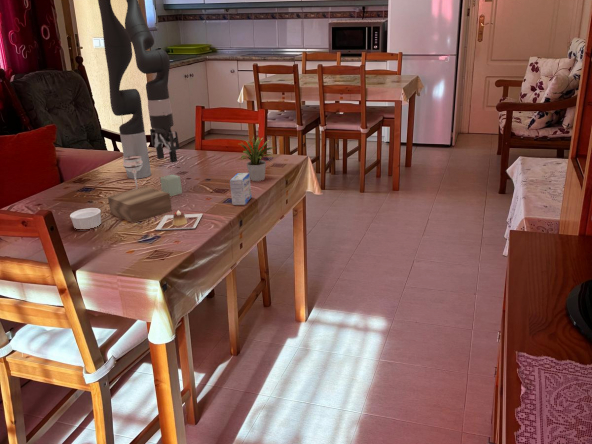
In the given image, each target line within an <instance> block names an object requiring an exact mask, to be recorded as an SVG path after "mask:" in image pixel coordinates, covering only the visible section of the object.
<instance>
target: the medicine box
mask: <svg viewBox="0 0 592 444" xmlns="http://www.w3.org/2000/svg"><path fill="white" fill-rule="evenodd" d="M229 186H230V195H231V204H232V205H233V206H246V205H247V204H248V203H249V201H250V199H252V198H253V197H252V187H251V179H250V175H249V172H238V173H236V174H235V175H234V176H233V177H231V179H230V180H229Z"/></svg>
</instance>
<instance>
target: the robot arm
mask: <svg viewBox="0 0 592 444" xmlns="http://www.w3.org/2000/svg"><path fill="white" fill-rule="evenodd" d="M125 1H126V4H127V7H126V8H127V9H126V14H125V18H124V25H123V24H122V22H121V21H120V19H118V17H117V16H116V14H115V12H114V9H113V8H112V7H113V6H112V1H111V0H97V2H98V3H97V4H98V8H99V13H100V17H101V18H100V19H101V27H102V35H103V46H104V55H105V60H106V65H107V67H106V68H107V73H108V74H107V75H108V84H109V86H108V87H109V100H110V107H111V110H112V114H114V116H117V117H121V116H129V115H132V117H131V118H130V119H129V120H128V121H125V122H124V123H122V124H121V125H120V126H119V127H118V131H119V136H120V142H121V147H122V155H123V158H124V157H128V156H135V155H138V156H142V158H141V160H142V161H143V166H142V168H141V169H140V170H139V171H137V173H136V179H144V178H147V177H150V176H151V175H152V171H151V163H150V158H149V157H150V155H149V149H148V143H147V137H146V130H145V124H144V117H143V115H144V114H143V107H142V98H141V94H140V92H139V90H138V89H136V88H129V89H121V90H120V88H121V83H122V79H123V77H124V74H125V72H126V71H127V69H128V67H129V65H130V63H131V61H132V59H133V50H134V56H135V64H136V67H137V69H138V70H139V71H140V72H141V74H144V75H149V74H156V75H155V78H154V79H151V80H149V81H147V82H146V84H145V90H146V99H147V108H148V116H149V121H150V122H149V123H150V127H151V128H150V129H149V131H150V142H151V145H152V147H154V148H155V149H156V156H157V157H156V158H157V159H158V160H162V159H164V158H165V154H164V148H163V145H164V146H165V147H166V148H167V150H168V151H169V152H168V156H169V160H170V161H169V162H171V163H177V161H178V157H177V150H179V149H180V143H179V137H178V131H172V127H174V124H175V123H174V117H173V116H174V115H173V110H172V103H171V99H170V94H169V88H168V87H169V75H170V68H171V60H170V56H169V54H168V53H167V52H166V51H165V50H163V49H154V50H150V49H152V48H153V46H154V44H155V39H154V36H153V34H152V32H151V30H150V28H149V26H148V24H147V22H146V20H145V17H144V15H143V12H142V9H141V6H140V2H139V0H125ZM125 173H126V176H127V178H128V179H133V180H135V178H134V173H132V172H129V171H127V170H126V169H125Z"/></svg>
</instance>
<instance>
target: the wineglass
mask: <svg viewBox="0 0 592 444" xmlns="http://www.w3.org/2000/svg"><path fill="white" fill-rule="evenodd" d="M141 158H142V156H138V155H135V156H128V157H124V156H123V158H122V160H123V163H122V165H123V167H124V169H125V171H126V170H127V171H129V172H132V173H134V178H135V179H134V182H135V187H136V188H133V189H131V190H134V189H137V188H139V187H138V180H137V179H136V173H137V171H139V170H140V169H141V168H142V166H143V161H142V160H141Z"/></svg>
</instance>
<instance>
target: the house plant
mask: <svg viewBox="0 0 592 444" xmlns="http://www.w3.org/2000/svg"><path fill="white" fill-rule="evenodd" d="M263 139H264V136H262V137H261V138H260V137H259V136H258V137H257V138H256V140H255V135H254V134H253V136H252V145H251V143H250V142H249V141H248V140H245V142H246V144H247V146H246V145H245V144H243V142H244V140H242V141H243V142H241V141H240V143H239V145H240V146H242V148H243V149H245V150H243V151H242V152H243V153H244V154H246V155H241V157H240V159H242V160H244V159H246V158H247V159H248V160H249V161H248V162H246V167H247V170H248V172H247V173H249V175H250V181H251V180H252V181H251V182H262V181H264V180H265V178H266V166H267V162H266V161H265V160H263V158H265V157H267V156H270V157H272V155H273V152H271V151H269V150H271V149H276V148H277V147H273V146H272V147H267V146H269V141H271V140H272V139H268V140H267V141H265V142H264V143H263V145H262V146H261V147H260V144H261V142H262V140H263ZM248 147H249V148H248ZM259 147H260V148H259ZM268 151H269V152H268ZM261 180H262V181H261Z"/></svg>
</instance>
